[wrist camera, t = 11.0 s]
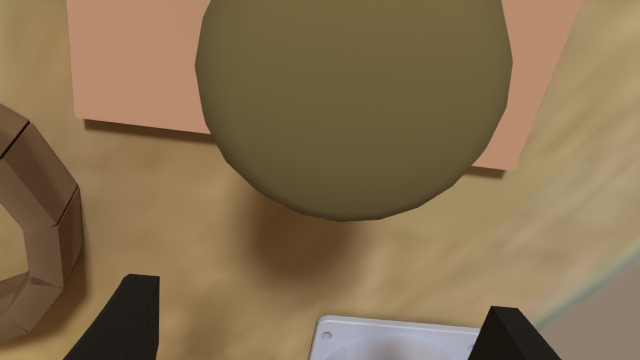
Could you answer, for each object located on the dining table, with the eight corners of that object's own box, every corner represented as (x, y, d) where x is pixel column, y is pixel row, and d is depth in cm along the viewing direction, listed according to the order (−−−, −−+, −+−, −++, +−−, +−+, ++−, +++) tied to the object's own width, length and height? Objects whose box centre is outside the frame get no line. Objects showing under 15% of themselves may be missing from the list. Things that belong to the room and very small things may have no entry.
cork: (467, -108, 17) (665, 17, 8) (370, 72, 20) (435, 314, 11) (270, -213, 16) (236, -206, 6) (197, -1, 19) (104, 211, 9)
